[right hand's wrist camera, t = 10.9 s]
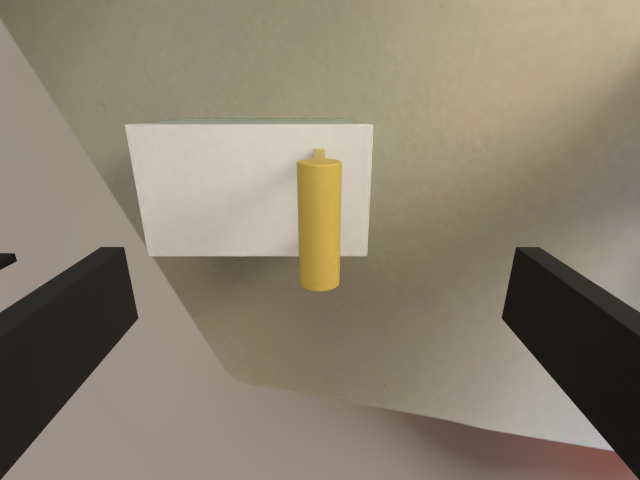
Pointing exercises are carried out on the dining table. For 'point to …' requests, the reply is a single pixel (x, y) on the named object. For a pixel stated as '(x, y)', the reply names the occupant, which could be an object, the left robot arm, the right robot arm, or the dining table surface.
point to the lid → (256, 192)
